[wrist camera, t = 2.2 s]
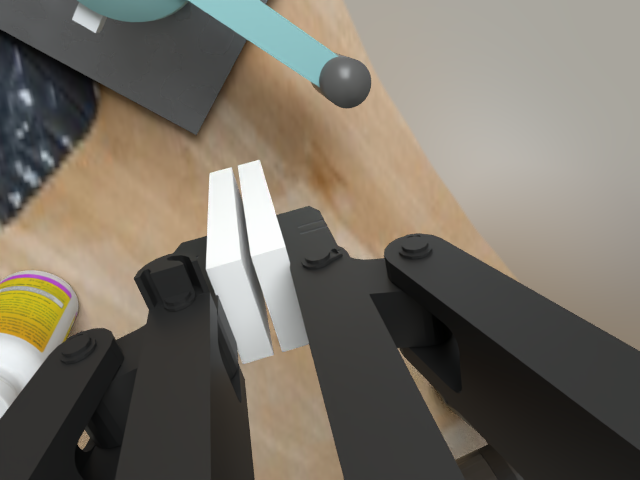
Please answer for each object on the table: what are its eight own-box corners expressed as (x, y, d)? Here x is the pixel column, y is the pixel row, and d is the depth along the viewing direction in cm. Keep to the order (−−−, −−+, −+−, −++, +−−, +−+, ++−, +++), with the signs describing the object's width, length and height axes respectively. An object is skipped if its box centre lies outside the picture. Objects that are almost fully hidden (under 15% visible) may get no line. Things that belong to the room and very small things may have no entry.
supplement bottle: (-15, 268, 37) (-113, 378, 26) (73, 265, 39) (15, 367, 28) (5, 334, 40) (-76, 458, 29) (86, 328, 42) (38, 445, 30)
